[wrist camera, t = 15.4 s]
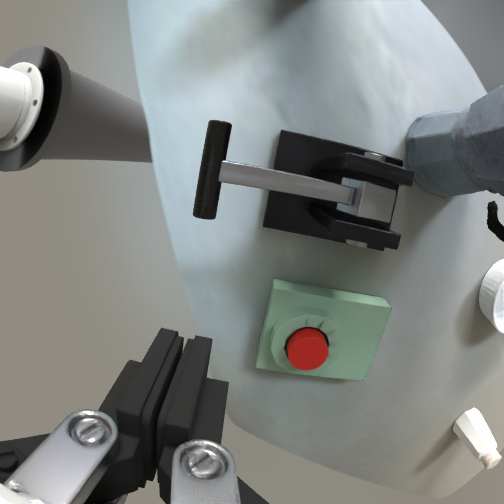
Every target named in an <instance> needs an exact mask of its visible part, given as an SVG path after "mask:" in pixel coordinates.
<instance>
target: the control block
mask: <svg viewBox="0 0 504 504" xmlns="http://www.w3.org/2000/svg"><path fill="white" fill-rule="evenodd" d="M391 309H392V307H391V306H390V305H389V303H388V302H387V301H386V300H385V299H384V298H383V297H377V296H371V295H365V294H359V293H353V292H347V291H341V290H335V289H329V288H324V287H318V286H312V285H307V284H301V283H295V282H290V281H284V280H279V279H273V282H272V287H271V292H270V296H269V301H268V305H267V310H266V314H265V319H264V323H263V328H262V332H261V337H260V341H259V346H258V350H257V355H256V368H260V369H266V370H273V371H279V372H286V373H294V374H301V375H310V376H319V377H328V378H338V379H350V380H362V381H363V380H364V379H365V377H366V374H367V372H368V370H369V367H370V365H371V362H372V360H373V357H374V355H375V352H376V350H377V347H378V345H379V342H380V340H381V337H382V334H383V332H384V329H385V326H386V323H387V321H388V318H389V315H390V312H391ZM305 328H311V329H315V330H317V331H319V332H321V333H322V335H323V336H324V338H325V341H326V344H327V347H328V357H327V359H326V361H325V362H324V363H323V364H322V365H321V366H319V367H318V368H316V369H313V370H300V369H297V368H296V367H294V366H293V365H292V364H291V363H290V361H289V358H288V350H287V343H288V340H289V338H290V337H291V336H292V335H293V334H294V333H295V332H296V331H298V330H301V329H305Z"/></svg>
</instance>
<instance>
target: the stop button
mask: <svg viewBox="0 0 504 504" xmlns="http://www.w3.org/2000/svg"><path fill="white" fill-rule="evenodd" d="M287 350H288V358H289V361H290V363H291V364H292V365H293V366H294V367H296V368H297V369H300V370H313V369H316V368H318V367H319V366H321V365H322V364H323V363H324V362H325V361H326V359H327V357H328V347H327V344H326V341H325V338H324V336H323V335H322V333H321V332H319V331H317V330H315V329H311V328H305V329H301V330H298V331H296V332H295V333H294V334H293V335H292V336H291V337H290V338H289V340H288V343H287Z"/></svg>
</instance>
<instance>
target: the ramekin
mask: <svg viewBox="0 0 504 504" xmlns="http://www.w3.org/2000/svg"><path fill="white" fill-rule="evenodd" d="M479 305H480V309H481V311H482V313H483V314H484V315H485V316H486V317H487V318H488V319H489V320H490V321H491V322H492V324H493V325H494V327H495V328H496V330H497V331H498V332H500V333H502V334H504V259H503V260H500V261H498V262H497V263H495V264H494V265H493V266H492V267H491V268H490V269H489V270H488V272H487V273H486V275H485V277H484V279H483V281H482V284H481V287H480V291H479Z"/></svg>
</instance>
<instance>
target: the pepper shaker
mask: <svg viewBox="0 0 504 504" xmlns="http://www.w3.org/2000/svg"><path fill="white" fill-rule="evenodd" d="M453 431H454V432H455V433H456V435H457V436H458V437H459V438H460V439H461V441H462V442H463V443H464V444H465V446H466V447H467V448H468V449H469V451H470V452H471V453H472V454H473V456H474V457H475V458H476V459H477V460H479V461H482V462H483V464H484V465H485V468H486V469H487V470H489V469H491V468H493V467H494V466H496V465H497V464H498V463H499V461H500V460H501V456H500V455H499V453H498V452H497V451H496V447H497V444H496V442H495V440H494V438H493V436H492V434H491V432H490V430H489V428H488V426H487V424H486V422H485V420H484V418H483V417H482V415H481V413H480V411H479V410H477V409H476V408H472V409H470V410H467V411H465V412H464V413H463V414H462V415H461V416H460V417H459V418H457V419H456V420H455V423H454V426H453Z"/></svg>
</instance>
